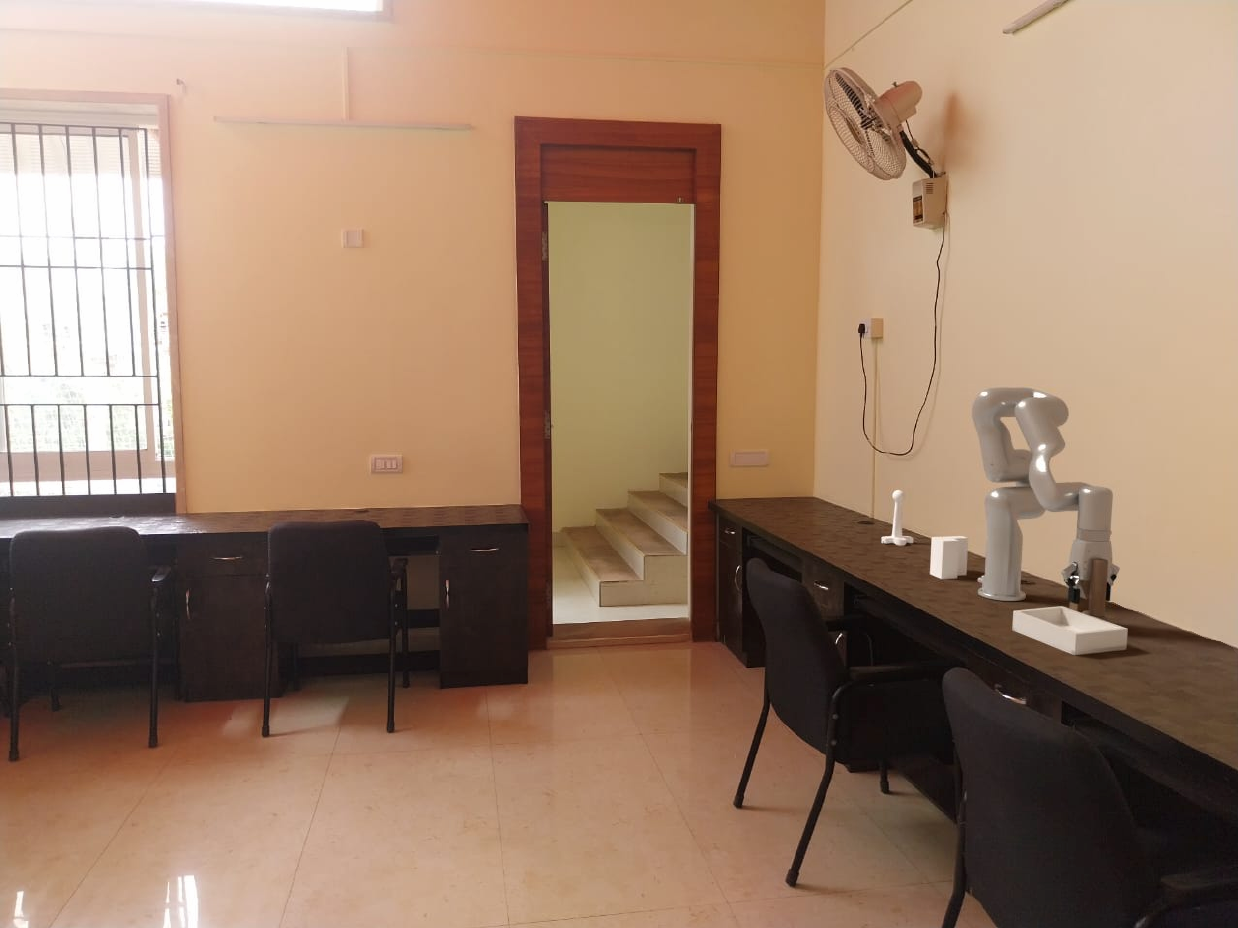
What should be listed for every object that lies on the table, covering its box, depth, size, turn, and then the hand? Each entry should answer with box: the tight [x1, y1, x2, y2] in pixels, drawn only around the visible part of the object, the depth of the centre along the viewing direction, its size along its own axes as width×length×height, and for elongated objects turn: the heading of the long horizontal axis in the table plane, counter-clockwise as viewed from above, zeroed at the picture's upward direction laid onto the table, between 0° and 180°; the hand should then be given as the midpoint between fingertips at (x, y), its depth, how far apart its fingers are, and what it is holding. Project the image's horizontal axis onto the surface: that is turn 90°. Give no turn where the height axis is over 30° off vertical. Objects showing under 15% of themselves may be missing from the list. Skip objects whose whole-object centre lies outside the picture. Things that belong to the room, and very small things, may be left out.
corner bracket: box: [929, 535, 969, 580], centre depth 279 cm, size 11×11×12 cm
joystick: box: [881, 489, 914, 547], centre depth 325 cm, size 11×8×20 cm
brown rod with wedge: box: [1069, 559, 1109, 622], centre depth 224 cm, size 4×11×18 cm, turn 5°
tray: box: [1011, 605, 1129, 656], centre depth 213 cm, size 20×15×5 cm
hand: (1088, 601), depth 224 cm, fingers open, 9 cm apart
